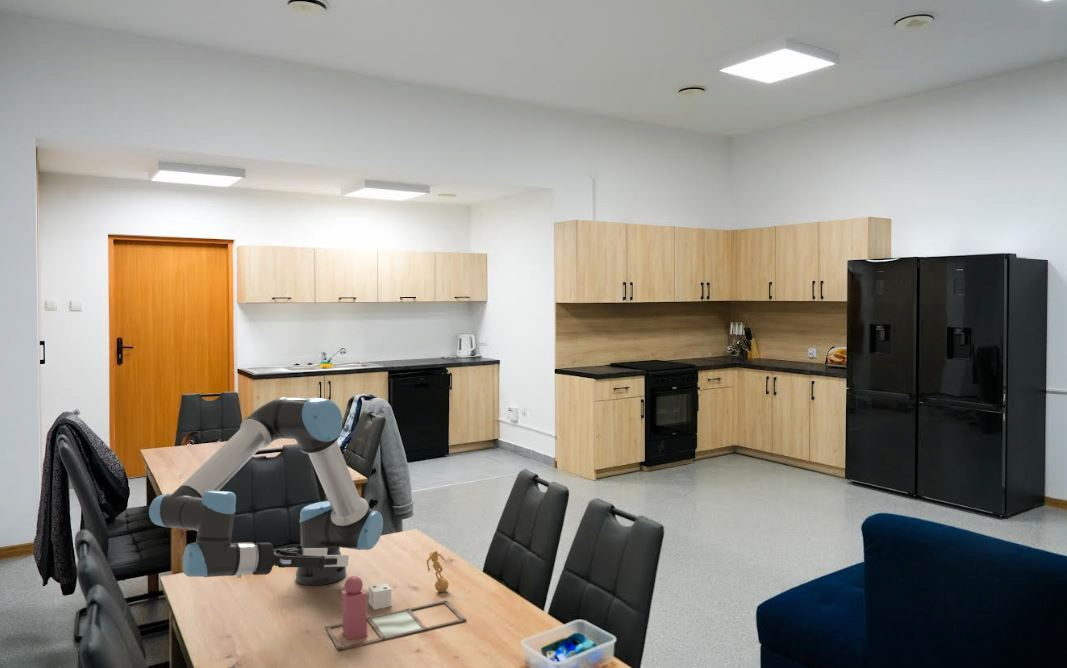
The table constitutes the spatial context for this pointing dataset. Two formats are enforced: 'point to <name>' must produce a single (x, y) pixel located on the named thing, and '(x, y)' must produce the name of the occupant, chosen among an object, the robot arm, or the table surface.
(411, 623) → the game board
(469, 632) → the table surface
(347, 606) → the pawn
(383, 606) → the die
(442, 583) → the figurine
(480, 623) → the table surface
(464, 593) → the table surface
